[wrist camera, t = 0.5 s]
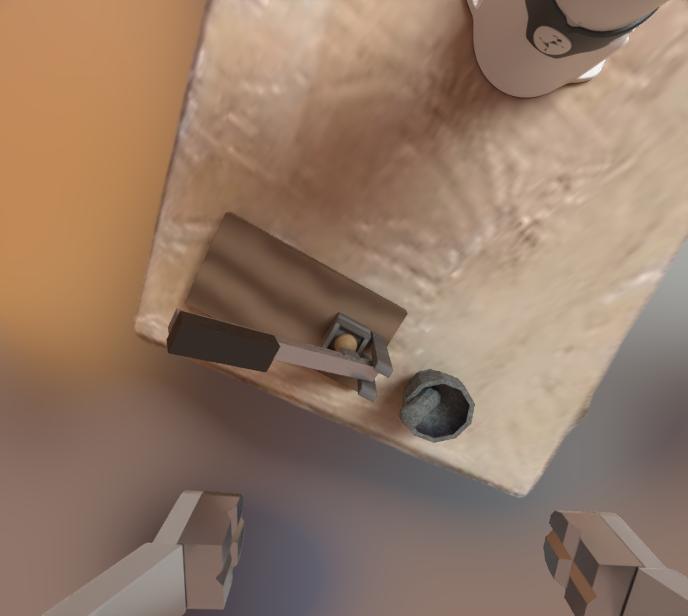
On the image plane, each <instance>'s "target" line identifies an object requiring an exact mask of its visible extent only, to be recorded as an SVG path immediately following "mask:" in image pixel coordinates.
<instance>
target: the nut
mask: <svg viewBox="0 0 688 616" xmlns="http://www.w3.org/2000/svg"><path fill="white" fill-rule="evenodd" d="M334 347H335V350H336V351H338V349H339V348H340V347H343V348H347V349H350V350H354V351H355V350H356V348H357V342H356V339H355V338H354V337H353V336H352V335H350V334H341V335H339V336H338V337H337V338H336V340H335V343H334Z"/></svg>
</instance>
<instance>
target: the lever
mask: <svg viewBox="0 0 688 616" xmlns="http://www.w3.org/2000/svg"><path fill="white" fill-rule="evenodd" d="M168 332H169V336H168V338H167V348H168V353H170V354H175V355H180V356H186V357H191V358H196V359H201V360H206V361H211V362H216V363H221V364H226V365H231V366H236V367H241V368H246V369H252V370H257V371H262V372H267V370H268V368H269V366H270V365H271V363H272V361H273V360H277V361H281V362H286V363H290V364H295V365H299V366H304V367H308V368H312V369H317V370H321V371H326V372H330V373H335V374H339V375H344V376H348V377H353V378H357V379H362V380H366V381H371V382H373V380H374V379H375V377H376V376H377V374H378V372H377V371H375V370H374V369H373V362H372V361H371V360H367V359H363V358H360V356H359V355H358V354H357V353H356V351H354V350H350V349H347V348H343V347H340V348H339V349H338V351H334V350H330V349H326V348H322V347H319V346H315V345H311V344H307V343H304V342H300V341H296V340H293V339H289V338H285V337H281V336H278V335H274V334H270V333H267V332H263V331H259V330H255V329H252V328H248V327H244V326H241V325H237V324H233V323H229V322H226V321H222V320H218V319H214V318H211V317H207V316H203V315H200V314H196V313H192V312H188V311H185V310H181V309H176V311H175V313H174V315H173V317H172V320H171V322H170V324H169V326H168Z"/></svg>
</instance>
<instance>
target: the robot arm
mask: <svg viewBox="0 0 688 616" xmlns="http://www.w3.org/2000/svg"><path fill="white" fill-rule="evenodd" d="M668 1H669V0H467V2H468V5H469V8H470V11H471V13H472V16H473V43H474V50H475V55H476V58H477V61H478V64H479V66H480V68H481V70H482V72H483V74H484V75H485V76H486V78H487V79H488V80H489V81H490V82H491V83H492V84H493V85H494V86H495V87H496V88H498V89H499V90H501V91H502V92H504V93H506V94H509V95H512V96H516V97H525V98H528V97H537V96H541V95H544V94H547V93H549V92H552V91H554V90H556V89H557V88H559V87H561V86H563V85H565V84H568V83H576V82H585V81H588V80H591V79H592V78H594V77H595V76H596V75H598V74H599V72H600V71H601V69H602V67H603V65H604V63H605V60H606V58H608V57H609V56H611V55H612V54H614V53H615V52H616V51H618V50H619V49H620V48H622V47H623V46H624V45H625V44H626V43H627V42H628V40H629V38H628V36H629V34H630V33H631V32H632V31H633V30H635V28H637V27H639V26H640V24H642V23H643V22H644V21H646V20H647V19H648V18H649V17H650V16H651V15H652V14H653V13H654V12H655V11H656V10H657V9H658V8H659V7H660V6H661V5H663V4H665V3H666V2H668ZM243 509H244V496H243V495H242V494H233V493H221V492H206V491H205V492H202V491H190V490H185V491H184V492H183V493H182V494H181V495H180V496H179V498H178V500H177V502H176V503H175V505H174V507H173V508H172V510H171V512H170V513H169V515H168V517H167V518H166V520H165V522H164V524H163V525H162V527H161V529H160V530H159V532H158V534H157V536H156V537H155V539H154V541H153V543H145V544H144V545H142V546H141V547H139V548H138V549H137V550H135V551H133V552H132V553H131V554H129V555H128V556H126V557H125V558H124V559H122V560H120V561H119V562H118V563H116V564H115V565H113V566H112V567H110V568H109V569H108V570H106V571H105V572H103V573H102V574H100V575H99V576H97V577H96V578H94V579H93V580H92V581H90V582H89V583H87V584H86V585H84V586H83V587H81V588H80V589H78V590H77V591H76V592H74V593H73V594H71V595H70V596H68V597H67V598H65V599H64V600H63V601H61V602H60V603H58V604H57V605H55V606H54V607H52V608H51V609H50V610H48V611H47V612H45V613H44V614H42V615H41V616H182V615H183V614H184V613H185V612H186V609H224V606H225V603H226V600H227V596H228V593H229V590H230V586H231V583H232V568H233V567H234V566H235V565H237V564H238V560H239V557H240V553H241V548H242V543H243V537H244V520H243V519H242V518H241V515H242V512H243ZM549 524H550V525H551V527H552V529H553V530H552V531H551V532H550V533H549V534H548V535H547V536H546V537H545V542H544V547H543V548H544V555H545V561H546V564H547V566H548V569H549V571H550V573H551V575H552V576H553V578H554V580H556V581H557V582H558V583H559V584H560V585H562V586H563V587H564V588H565V595H564V598H565V599H566V601H567V603H568V604H569V606H570V608H571V610H572V612H573V613H574V615H575V616H688V578H687V577H685V576H683V575H682V574H680V573H679V572H677V571H675V570H674V569H667V568H666V567H665V566H664V565H663V564H662V563H661V562H660V561H659V560H658V558H657V557H656V556H655V555H654V554H653V553H652V552H651V551H650V550H649V549H648V547H647V546H646V545H645V544H644V543H643V542H642V541H641V540H640V539H639V538H638V537H637V535H635V533H634V532H633V531H632V530H631V529H630V528H629V527H628V525H626V523H625V522H624V521H623V520H622V519H621V518H620V517H619V516H618V515H616V514H614V513H612V512H577V511H556V510H555V511H554V512H553V513H552V514H551V517H550V521H549Z"/></svg>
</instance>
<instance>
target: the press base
mask: <svg viewBox="0 0 688 616" xmlns="http://www.w3.org/2000/svg"><path fill="white" fill-rule="evenodd" d="M185 303H186V304H188V305H190V306H192V307H194V308H196V309H197V310H199V311H201V312H203V313H205V314H207V315H209V316H211V317H213V318H215V319H218V320H222V321H226V322H229V323H233V324H237V325H241V326H244V327H248V328H252V329H255V330H259V331H263V332H267V333H270V334H274V335H278V336H281V337H285V338H289V339H293V340H296V341H300V342H304V343H307V344H311V345H315V346H319V347H322V348H326V349H330V350H334V351H336V350H335V347H334V343H335V340H336V338H337V337H338V336H339V335H341V334H350V335H352V336H353V337H354V338H355V339H356V342H357V348H356V350H355V351H356V353H357V354H358V355H359V356H360V358H363V359H367V360H371V361H372V362H373V369H374V370H375V371H377V372H378V373H380V374H382V375H384V376H386V377H388V378H389V377H390V375H391V374H392V372H393V368H392V365H391V361H390V357H389V354H388V350H387V345H388V344H389V342H390V340H391V339H392V337H393V336H394V334H395V333H396V331H397V329H398V328H399V326H400V325H401V323H402V322H403V320H404V318H405V317H406V315H407V312H406V310H405V309H403V308H401V307H400V306H398V305H396V304H394V303H392V302H391V301H389V300H387V299H385V298H383V297H382V296H380V295H378V294H376V293H374V292H373V291H371V290H369V289H367V288H365V287H364V286H362V285H360V284H358V283H356V282H355V281H353V280H351V279H349V278H347V277H346V276H344V275H342V274H340V273H338V272H337V271H335V270H333V269H331V268H329V267H328V266H326V265H324V264H322V263H320V262H319V261H317V260H315V259H313V258H311V257H310V256H308V255H306V254H304V253H302V252H301V251H299V250H297V249H295V248H293V247H292V246H290V245H288V244H286V243H284V242H283V241H281V240H279V239H277V238H275V237H274V236H272V235H270V234H268V233H266V232H265V231H263V230H261V229H259V228H257V227H256V226H254V225H252V224H250V223H248V222H247V221H245V220H243V219H241V218H239V217H238V216H236V215H234V214H232V213H225V215H224V218H223V220H222V222H221V224H220V226H219V229H218V231H217V233H216V235H215V237H214V239H213V242H212V244H211V246H210V248H209V250H208V253H207V255H206V257H205V259H204V261H203V263H202V266H201V268H200V270H199V272H198V274H197V277H196V279H195V281H194V283H193V285H192V287H191V290H190V292H189V294H188V296H187V298H186V301H185ZM314 370H316V371H318V372H320V373H322V374H324V375H326V376H328V377H330V378H332V379H334V380H336V381H338V382H340V383H341V384H343V385H345V386H347V387H349V388H351V389H353V390H355V391H357V392H358V395H360V396H362V397H364V398H366V399H367V400H369V401H371V402H373V401H374V400H375V398H376V397H377V391H376V385H375V379H374V380H373V382H371V381H366V380H362V379H357V378H353V377H348V376H344V375H339V374H335V373H330V372H326V371H321V370H317V369H314Z"/></svg>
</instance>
